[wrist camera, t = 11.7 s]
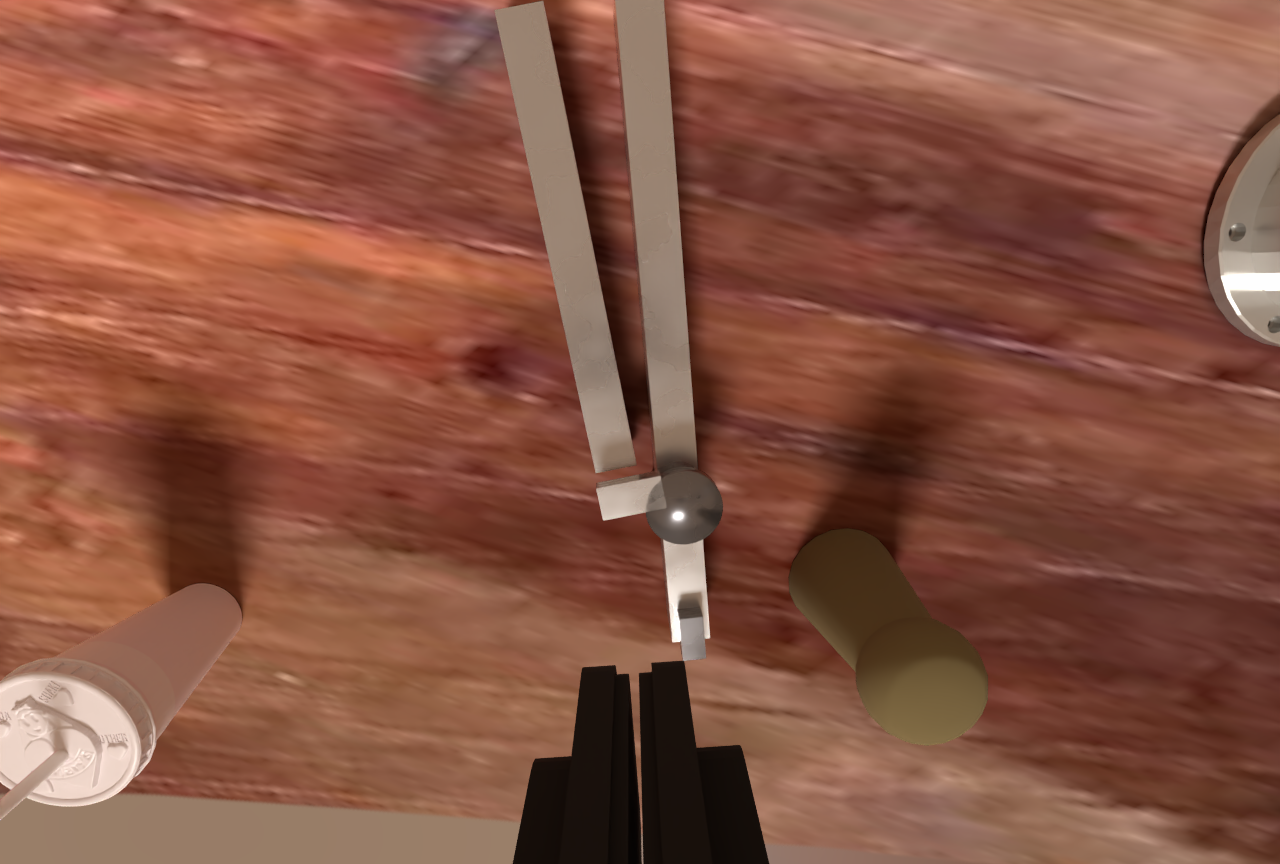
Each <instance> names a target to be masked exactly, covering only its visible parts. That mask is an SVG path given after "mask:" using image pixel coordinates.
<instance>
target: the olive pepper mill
mask: <svg viewBox="0 0 1280 864" xmlns="http://www.w3.org/2000/svg"><path fill="white" fill-rule="evenodd" d="M789 591H790V594H791V597H792V599H793V601H794V603H795V606H796V607H797V608H798V609H799V610H800V611H801V612H802V613H803V614H804V616H805V617H806V618H807V619H808V620H809V621H810V622H811V623H812V624H813V625H814V627H815V628H816V629H817V630H818V631H819V632H820V633H821V634H822V635H823V637H824V638H825V639H826V640H827V641H828V642H829V643H830V644H831V645H832V646H833V648H834V649H835V650H836V651H837V652H838V653H839V654H840V655H841V656H842V657H843V659H844V660H845V661H846V662H847V663H848V664H849V665H850V666H851V667H852V668H853V670H854V671H855V672H856V684H857V689H858V692H859V695H860V697H861V699H862V702H863V704H864V706H865V708H866V710H867V711H868V713H869V715H870V716H871V717H872V718H873V719H874V720H875V721H876V722H877V723H878V724H879V725H880V726H881V727H882V728H883V729H884V730H885V731H886V732H887V733H889V734H891V735H893V736H895V737H897V738H899V739H901V740H903V741H906V742H909V743H912V744H920V745H927V746H928V745H935V744H942V743H945V742H948V741H950V740H953V739H955V738H957V737H959V736H961V735H962V734H963V733H965V732H966V731H967V730H969V729H970V728H971V727H973V725H974V724H975V723H976V721H977V720H978V719H979V717H980V716H981V715H982V713H983V711H984V708H985V705H986V703H987V700H988V675H987V672H986V670H985V667H984V664H983V661H982V659H981V657H980V655H979V654H978V652H977V651H976V649H975V648H974V647H973V646H972V645H971V644H970V643H969V642H968V640H967V639H966V638H965V637H964V636H963V635H962V634H960V633H959V632H958V631H956V630H954V629H952V628H951V627H949V626H947V625H945V624H943V623H941V622H939V621H937V620H935V619H932V617H931V616H930V614H929V613H928V611H927V610H926V608H925V607H924V605H923V604H922V602H921V601H920V599H919V597H918V596H917V594H916V593H915V591H914V590H913V588H912V587H911V585H910V584H909V582H908V581H907V579H906V578H905V576H904V575H903V573H902V572H901V570H900V568H899V567H898V565H897V564H896V562H895V561H894V559H893V558H892V556H891V555H890V553H889V552H888V550H887V549H886V548H885V547H884V546H883V544H882V543H881V542H880V541H879V540H878V539H877V538H876V537H874V536H872V535H870V534H868V533H866V532H864V531H861V530H855V529H849V528H845V529H837V530H830V531H828V532H826V533H824V534H821V535H819V536H817V537H815V538H813V539H812V540H811V541H810V542H809V543H808V544H806V545H805V546H804V547H803V548H802V549H801V550H800V552H799V553H798V555H797V556H796V558H795V559H794V561H793V563H792V567H791V570H790V574H789Z"/></svg>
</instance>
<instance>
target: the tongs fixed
mask: <svg viewBox="0 0 1280 864" xmlns="http://www.w3.org/2000/svg"><path fill="white" fill-rule="evenodd" d="M614 26H615V38H616V49H617V60H618V71H619V82H620V93H621V104H622V115H623V126H624V137H625V148H626V159H627V170H628V181H629V192H630V204H631V215H632V226H633V237H634V248H635V259H636V270H637V281H638V292H639V303H640V314H641V325H642V336H643V347H644V359H645V370H646V381H647V392H648V403H649V414H650V425H651V436H652V447H653V458H654V470H653V472H655V471H659V472H660V474H661V473H663V472H664V471H666V470H669V469H671V468H675V467H692V468H696V469H698V465H697V451H696V437H695V423H694V409H693V396H692V382H691V368H690V354H689V340H688V326H687V313H686V299H685V285H684V271H683V257H682V244H681V230H680V216H679V202H678V188H677V174H676V161H675V147H674V133H673V119H672V105H671V92H670V78H669V64H668V50H667V36H666V22H665V9H664V0H614ZM661 547H662V558H663V569H664V580H665V591H666V602H667V613H668V620H669V626H670V631H671V637H672V642H679V641H680V647H681V654H682V659H683V661H688V660H697V659H705V658H706V651H705V639H706V638H710V630H709V617H708V603H707V589H706V575H705V561H704V548H703V539H702V540H701V541H698V542H696V543H692V544H684V545H681V544H674V543H670V542H668V541H665V540H663V539H662V538H661Z"/></svg>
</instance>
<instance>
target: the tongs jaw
mask: <svg viewBox="0 0 1280 864" xmlns="http://www.w3.org/2000/svg"><path fill="white" fill-rule="evenodd" d="M495 15H496V19H497V24H498V28H499V33H500V38H501V42H502V47H503V51H504V56H505V60H506V65H507V70H508V74H509V79H510V83H511V88H512V92H513V97H514V102H515V106H516V111H517V115H518V120H519V124H520V129H521V134H522V138H523V143H524V147H525V152H526V156H527V161H528V165H529V170H530V175H531V179H532V184H533V188H534V193H535V197H536V202H537V207H538V211H539V216H540V220H541V225H542V229H543V234H544V239H545V243H546V248H547V252H548V257H549V261H550V266H551V270H552V275H553V280H554V284H555V289H556V293H557V298H558V302H559V307H560V312H561V316H562V321H563V325H564V330H565V334H566V339H567V344H568V348H569V353H570V357H571V362H572V366H573V371H574V376H575V380H576V385H577V389H578V394H579V398H580V403H581V407H582V412H583V417H584V421H585V426H586V430H587V435H588V439H589V444H590V449H591V453H592V458H593V462H594V467H595V471H596V473H599V472H604V471H609V470H614V469H619V468H625V467H630V466H635V465H636V459H635V452H634V447H633V442H632V437H631V432H630V427H629V422H628V417H627V412H626V407H625V402H624V397H623V392H622V387H621V383H620V378H619V373H618V368H617V363H616V358H615V353H614V348H613V343H612V338H611V333H610V328H609V323H608V318H607V313H606V308H605V303H604V298H603V293H602V288H601V283H600V278H599V273H598V268H597V263H596V258H595V253H594V248H593V243H592V238H591V233H590V228H589V223H588V218H587V213H586V208H585V203H584V198H583V193H582V188H581V183H580V178H579V173H578V168H577V163H576V158H575V153H574V148H573V143H572V139H571V134H570V129H569V124H568V119H567V114H566V109H565V104H564V99H563V94H562V89H561V84H560V79H559V74H558V69H557V64H556V59H555V54H554V49H553V44H552V39H551V34H550V29H549V24H548V20H547V15H546V11H545V7H544V2H543V1H539V2H534V3H529V4H524V5H519V6H513V7H508V8H503V9H498V10H495ZM596 490H597V495H598V499H599V504H600V508H601V513H602V517H603V521H604V520H609V519H614V518H619V517H624V516H629V515H634V514H639V513H644V512H646V517H647V520H648V523H649V525H650V527H651V528H652V530H653V531H654V532H655V533H656V534H657V535H658V536H659V537H660V538H662V539H663V540H665V541H668V542H670V543H674V544H681V545H684V544H692V543H696V542H698V541H701V540H702V539H704V538H706V537H707V536H709V535H710V534H711V533H712V532H713V531H714V530H715V528H716V527H717V525H718V524H719V521H720V519H721V516H722V511H723V503H722V498H721V495H720V492H719V490H718V488H717V486H716V485H715V483H714V481H713V480H712V479H711V478H710V477H709V476H708V475H707V474H705V473H704V472H702V471H701V470H698V469H696V468H692V467H675V468H671V469H669V470H666V471H664V472H663V473H661V474H660V472H659V471H655V472H650V473H645V474H639V475H634V476H629V477H624V478H619V479H614V480H609V481H604V482H599V483H596Z"/></svg>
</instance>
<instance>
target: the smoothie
mask: <svg viewBox="0 0 1280 864" xmlns="http://www.w3.org/2000/svg"><path fill="white" fill-rule="evenodd" d="M241 623H242V612H241V609H240V606H239V604H238V602H237V601H236V600H235V598H234V597H233V596H232V595H231V594H230V593H228V592H227V591H226V590H224V589H222V588H220V587H218V586H215V585H212V584H205V583H199V584H193V585H189V586H187V587H185V588H183V589H181V590H179V591H177V592H176V593H174V594H172V595H170V596H168V597H166V598H164V599H162V600H161V601H159V602H157V603H155V604H153V605H151V606H149V607H147V608H145V609H144V610H142V611H140V612H138V613H136V614H134V615H132V616H130V617H129V618H127V619H125V620H123V621H121V622H119V623H117V624H115V625H114V626H112V627H110V628H108V629H106V630H104V631H102V632H100V633H99V634H97V635H95V636H93V637H91V638H89V639H87V640H85V641H83V642H82V643H80V644H78V645H76V646H74V647H72V648H70V649H68V650H66V651H64V652H62V653H61V654H59V655H57V656H55V657H53V658H45V659H39V660H36V661H33V662H30V663H27V664H24V665H21V666H20V667H18V668H17V669H15V670H14V671H12V672H11V673H10V674H8V675H7V676H5V677H4V679H3V680H2V681H0V782H1V783H2V784H3V785H5V786H6V787H8V788H9V789H11V790H10V791H9V792H8V793H7V794H6V795H4V796H3V797H2V798H1V799H0V820H1V819H2V818H3V817H5V816H6V815H7V814H8V813H9V812H10V811H11V810H12V809H13V808H15V807H16V806H17V805H18V804H19V803H20V802H21V801H22V800H24V799H25V798H28V799H31V800H34V801H37V802H41V803H45V804H50V805H57V806H83V805H89V804H94V803H97V802H100V801H103V800H105V799H108V798H110V797H112V796H113V795H115V794H117V793H118V792H120V791H121V790H122V789H123V788H124V787H125V786H126V785H127V784H128V783H129V782H130V781H131V780H132V779H133V778H134V777H135V776H137V775H138V774H139V773H140V772H141V771H142V770H143V769H144V767H145V766H146V765H147V764H148V763H149V761H150V759H151V757H152V754H153V751H154V749H155V746H156V740H157V739H158V737H159V736H160V735H161V734H162V732H163V731H164V730H165V728H166V727H167V726H168V724H169V723H170V721H171V720H172V719H173V717H174V716H175V715H176V713H177V712H178V711H179V709H180V708H181V707H182V705H183V704H184V703H185V701H186V700H187V699H188V697H189V696H190V695H191V693H192V692H193V691H194V689H195V688H196V687H197V685H198V684H199V683H200V681H201V680H202V679H203V677H204V676H205V675H206V673H207V672H208V671H209V669H210V668H211V667H212V665H213V664H214V663H215V661H216V660H217V659H218V657H219V656H220V655H221V653H222V652H223V651H224V649H225V648H226V647H227V645H228V644H229V643H230V641H231V640H232V639H233V637H234V636H235V635H236V633H237V632H238V631H239V629H240V626H241Z"/></svg>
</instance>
